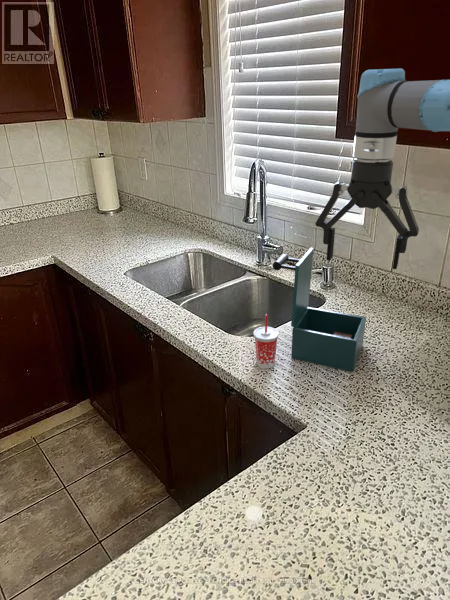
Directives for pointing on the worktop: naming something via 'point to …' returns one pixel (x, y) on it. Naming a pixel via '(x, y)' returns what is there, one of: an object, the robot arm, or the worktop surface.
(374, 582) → the worktop surface
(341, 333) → the block
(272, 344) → the beverage cup
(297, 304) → the lid
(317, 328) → the teal hinged box
